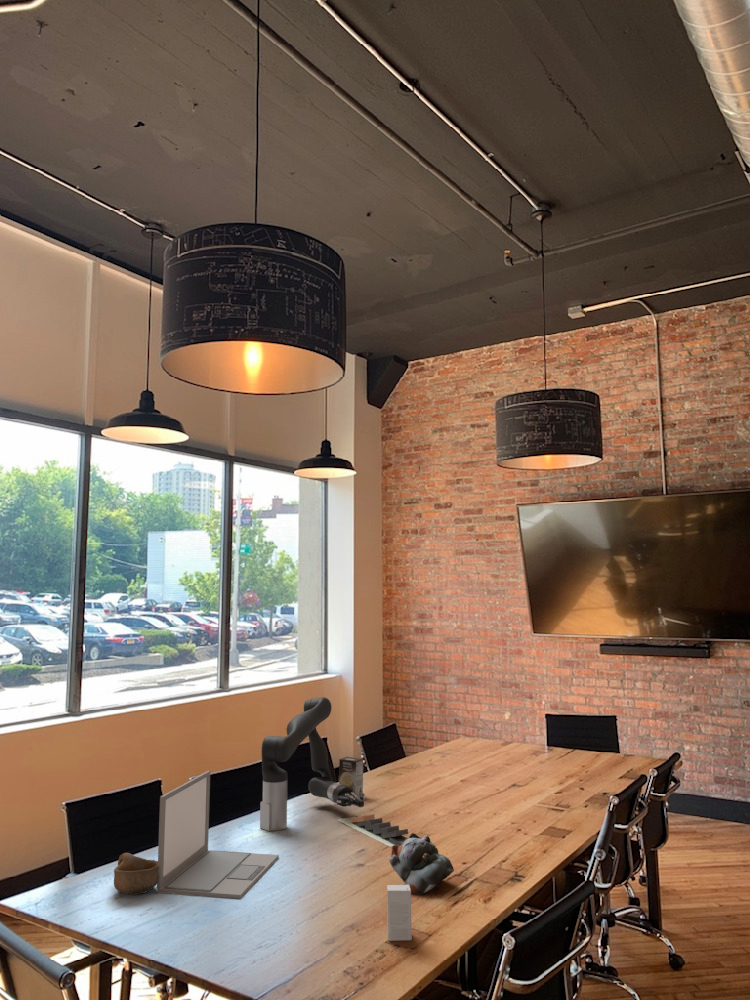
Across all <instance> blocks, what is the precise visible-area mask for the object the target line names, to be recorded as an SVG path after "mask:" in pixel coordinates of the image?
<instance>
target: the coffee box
mask: <svg viewBox="0 0 750 1000" xmlns="http://www.w3.org/2000/svg"><path fill="white" fill-rule="evenodd" d="M338 764H339V769H338V772H339V773H338V774H339V775H338V777H339V778H338V779H339V780H338V783H339V784H342V785H345V786H347V787H349V788H351V789H352V791H353V793H355V794H358V796H360V794H364V758H358V757H353V756H344V757H342V758H341V757H340V758H339V763H338Z"/></svg>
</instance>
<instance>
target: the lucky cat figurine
mask: <svg viewBox="0 0 750 1000" xmlns="http://www.w3.org/2000/svg"><path fill="white" fill-rule="evenodd" d="M388 861H389V864H390V866H391V868H392V869H393V870H394V872H395V873H396V874H397V875H398V876H399V878H400V879H401V880H402V882H403V883H404V885H410V889H411V894H415V895H420V896H423V895H424V894H425V893H427V892H429V891H431V890H432V889H433V888H435V886H437V885H438V884H439V883H441V882H442V881H444V880H446V878H448V877H450V875H451V874H452V873H454V872H455V869H454V866H453V864H452V862H451V860H450V859H449V858H448V857H447V856H445V855H443V854H441V853H440V854H439V850H438V848H437V847H436V845H435V843H433V842H432V841H431V838H430V837H429V835H427V834H426V835H424V836H423V837H422V838H421V837H420V836H418V835H417V834H416V833H414V832H411V834H410V835H409V837H408V839H406V840H405V841H404V842H403V843H402V844H401V846H400V845H398V846H397V845H393V846H391V855H390V857H389V859H388Z"/></svg>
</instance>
